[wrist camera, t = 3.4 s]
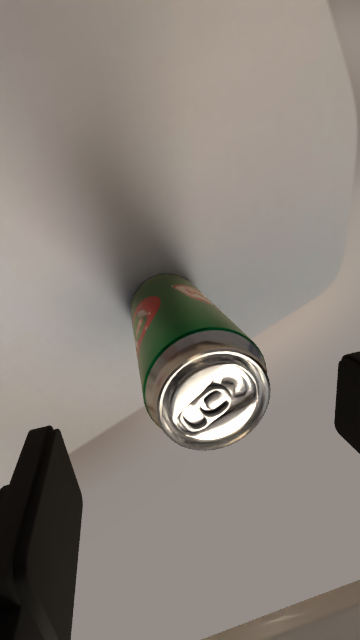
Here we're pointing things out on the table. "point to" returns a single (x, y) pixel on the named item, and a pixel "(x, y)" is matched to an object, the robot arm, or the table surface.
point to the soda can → (196, 366)
